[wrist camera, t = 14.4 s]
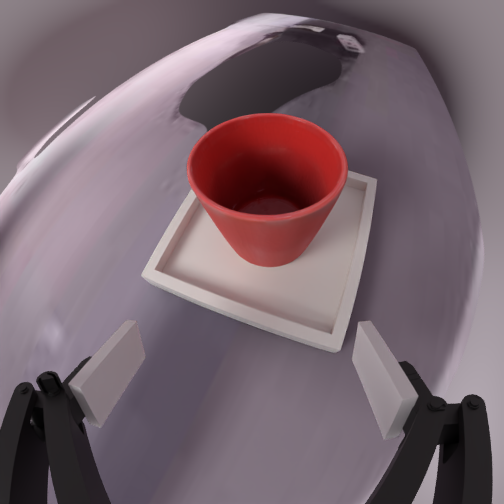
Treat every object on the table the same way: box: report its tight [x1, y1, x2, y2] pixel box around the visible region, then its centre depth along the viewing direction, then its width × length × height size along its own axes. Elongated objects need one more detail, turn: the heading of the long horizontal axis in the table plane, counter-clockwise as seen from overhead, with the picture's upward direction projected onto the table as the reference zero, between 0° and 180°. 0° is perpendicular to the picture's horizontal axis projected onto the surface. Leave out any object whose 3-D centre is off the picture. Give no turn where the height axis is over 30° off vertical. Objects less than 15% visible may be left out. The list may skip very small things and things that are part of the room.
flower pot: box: [187, 113, 348, 267], centre depth 21 cm, size 11×11×10 cm
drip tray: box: [141, 170, 377, 353], centre depth 25 cm, size 18×18×2 cm
